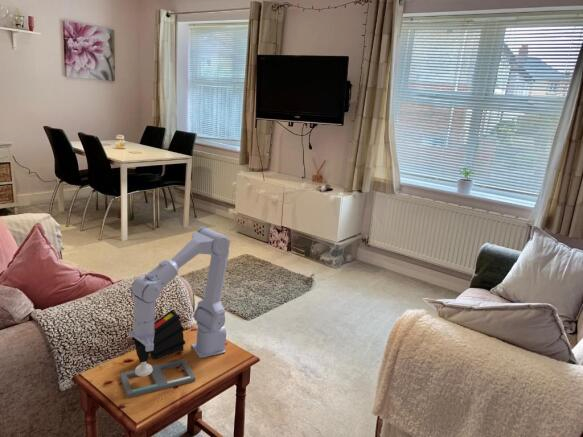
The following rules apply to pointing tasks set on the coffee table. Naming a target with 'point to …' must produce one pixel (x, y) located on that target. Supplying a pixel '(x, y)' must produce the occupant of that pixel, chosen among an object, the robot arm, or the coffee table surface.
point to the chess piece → (143, 369)
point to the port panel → (158, 378)
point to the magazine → (168, 335)
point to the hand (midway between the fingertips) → (142, 358)
